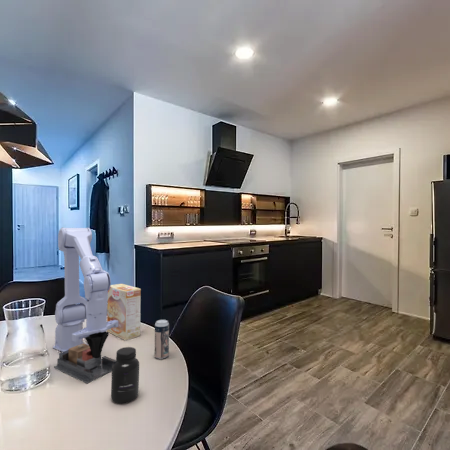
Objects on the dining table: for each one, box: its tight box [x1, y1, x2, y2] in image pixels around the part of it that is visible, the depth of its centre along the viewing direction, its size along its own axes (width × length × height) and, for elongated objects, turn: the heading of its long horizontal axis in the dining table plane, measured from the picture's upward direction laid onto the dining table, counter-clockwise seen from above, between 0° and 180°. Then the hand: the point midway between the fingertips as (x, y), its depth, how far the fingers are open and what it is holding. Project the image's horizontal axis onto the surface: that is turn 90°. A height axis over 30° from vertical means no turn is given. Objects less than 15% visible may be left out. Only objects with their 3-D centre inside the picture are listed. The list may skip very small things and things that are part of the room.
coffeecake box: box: [106, 283, 142, 341], centre depth 117 cm, size 15×7×20 cm, turn 49°
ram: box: [77, 349, 102, 369], centre depth 88 cm, size 4×6×6 cm
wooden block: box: [68, 342, 90, 364], centre depth 90 cm, size 5×5×6 cm
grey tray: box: [53, 350, 116, 384], centre depth 88 cm, size 17×11×4 cm, turn 59°
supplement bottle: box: [110, 346, 140, 405], centre depth 73 cm, size 7×7×12 cm
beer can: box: [153, 319, 170, 360], centre depth 96 cm, size 5×5×12 cm
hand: (96, 357), depth 86 cm, fingers closed, pressing on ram
